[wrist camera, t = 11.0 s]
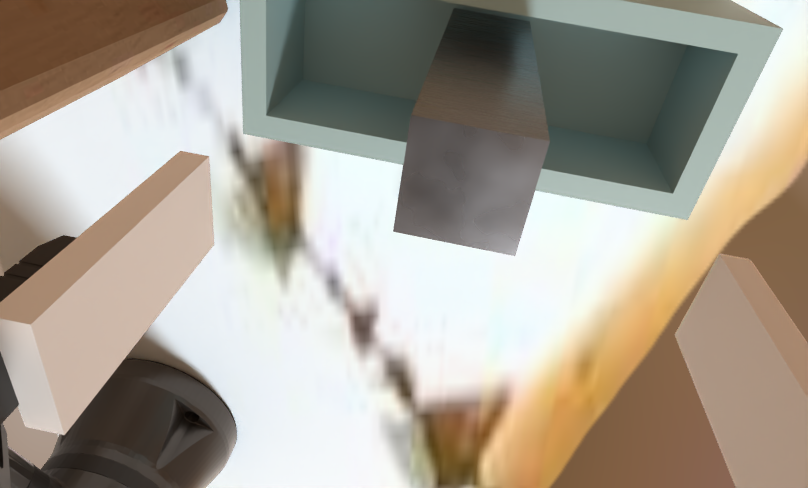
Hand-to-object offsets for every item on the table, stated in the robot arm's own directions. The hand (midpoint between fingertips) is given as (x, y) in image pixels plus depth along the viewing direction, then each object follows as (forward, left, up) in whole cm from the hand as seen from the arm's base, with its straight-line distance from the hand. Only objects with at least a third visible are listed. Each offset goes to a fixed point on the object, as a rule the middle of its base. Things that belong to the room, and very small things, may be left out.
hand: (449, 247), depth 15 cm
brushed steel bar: (0, 0, -19) cm, 19 cm away
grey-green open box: (0, 0, -20) cm, 20 cm away
